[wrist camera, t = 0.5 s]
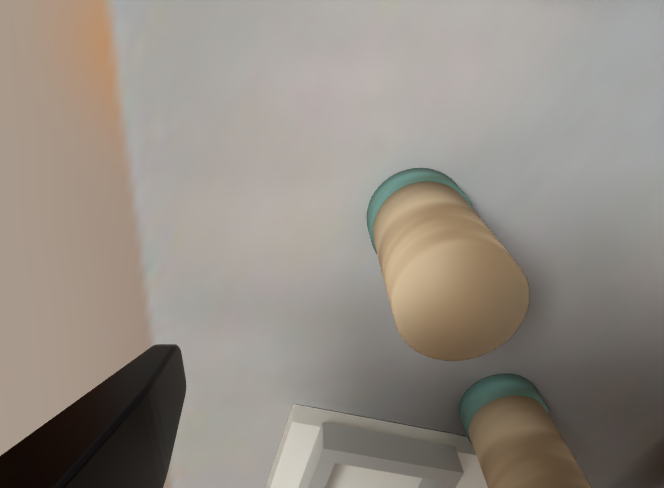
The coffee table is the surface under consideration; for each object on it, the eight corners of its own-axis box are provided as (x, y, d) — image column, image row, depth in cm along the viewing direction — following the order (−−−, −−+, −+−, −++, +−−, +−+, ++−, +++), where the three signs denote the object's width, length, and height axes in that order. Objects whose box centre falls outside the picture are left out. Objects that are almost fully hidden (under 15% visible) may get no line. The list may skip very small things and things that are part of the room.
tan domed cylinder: (552, 382, 25) (634, 509, 19) (517, 440, 27) (580, 573, 20) (477, 367, 24) (536, 492, 18) (446, 426, 26) (489, 559, 20)
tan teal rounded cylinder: (481, 182, 20) (558, 262, 14) (443, 268, 22) (497, 374, 15) (385, 156, 19) (419, 226, 13) (354, 247, 21) (371, 348, 15)
